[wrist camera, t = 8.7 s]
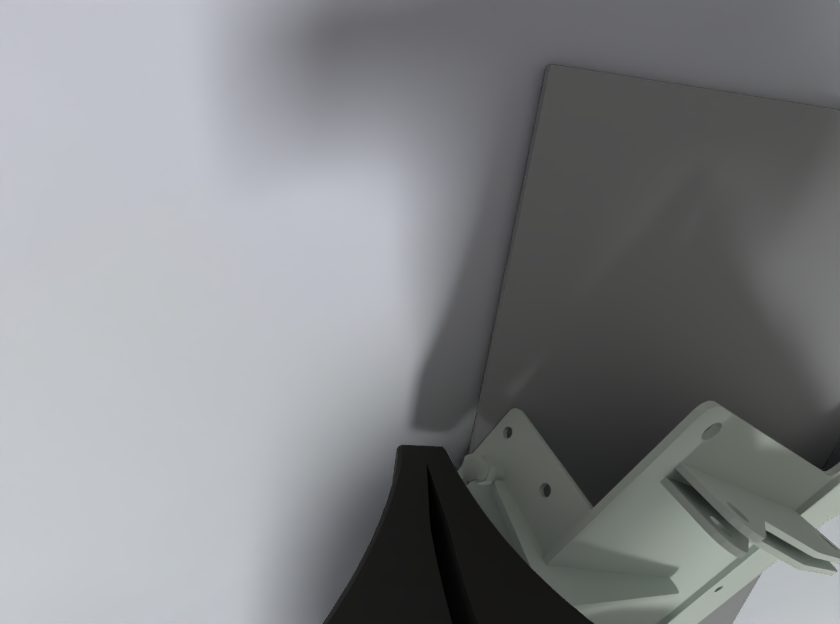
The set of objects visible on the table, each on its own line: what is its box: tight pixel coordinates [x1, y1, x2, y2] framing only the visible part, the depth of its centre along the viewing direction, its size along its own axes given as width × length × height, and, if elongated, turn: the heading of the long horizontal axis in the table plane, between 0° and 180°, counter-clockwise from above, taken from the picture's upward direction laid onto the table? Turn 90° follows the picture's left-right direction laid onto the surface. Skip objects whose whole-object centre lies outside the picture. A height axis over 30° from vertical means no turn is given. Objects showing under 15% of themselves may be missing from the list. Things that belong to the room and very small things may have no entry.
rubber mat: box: [466, 64, 840, 624], centre depth 15 cm, size 24×13×1 cm, turn 173°
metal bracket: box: [457, 401, 840, 624], centre depth 15 cm, size 14×6×15 cm
